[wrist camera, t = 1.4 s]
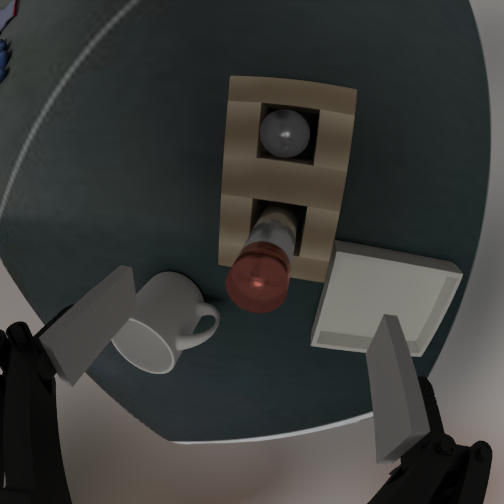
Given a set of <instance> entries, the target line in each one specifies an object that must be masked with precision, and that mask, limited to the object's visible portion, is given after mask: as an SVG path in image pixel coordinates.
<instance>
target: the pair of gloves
mask: <svg viewBox="0 0 504 504" xmlns="http://www.w3.org/2000/svg"><path fill="white" fill-rule="evenodd" d="M19 1H20V0H13V1H12V2H11V3H10V4H9V5H8V6H7V7H6V9H5V10H3V9H2V10H0V32H1V30H2V29H3V28H4V27H5V26H6V24H7V21H8V20H10V19H11V18H12V17H13V16H15V15H16V14H17V12H18V7H19ZM6 50H7V43H6V42H4V40H3V39H0V83H1V82H2V80H3V79H4V77H5V75H6V70H5V69H4V68H5V67H6V64H7V61H8V52H7V51H6Z"/></svg>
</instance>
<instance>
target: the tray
mask: <svg viewBox="0 0 504 504" xmlns="http://www.w3.org/2000/svg"><path fill="white" fill-rule="evenodd" d="M462 276H463V273H462V272H461V271H460V270H459V268H458V267H457V266H456V265H455V264H454V263H453V262H449V261H444V260H440V259H435V258H430V257H425V256H420V255H415V254H410V253H405V252H399V251H394V250H389V249H384V248H378V247H373V246H367V245H362V244H356V243H351V242H345V241H339V240H334V245H333V249H332V254H331V258H330V262H329V266H328V270H327V275H326V279H325V283H324V287H323V290H322V294H321V298H320V302H319V305H318V309H317V313H316V316H315V320H314V323H313V327H312V330H311V346H316V347H323V348H330V349H338V350H346V351H355V352H365V353H366V352H367V350H368V348H369V346H370V344H371V342H372V340H373V337H374V335H375V333H376V331H377V329H378V326H379V324H380V322H381V319H382V317H383V314H388V315H396V316H397V317H398V319H399V322H400V325H401V328H402V331H403V333H404V336H405V339H406V342H407V345H408V348H409V352H410V355H411V356H419V357H421V356H422V354H423V353H424V351H425V349H426V348H427V346H428V344H429V343H430V341H431V339H432V338H433V336H434V334H435V332H436V330H437V329H438V327H439V325H440V323H441V321H442V319H443V317H444V315H445V313H446V311H447V309H448V307H449V305H450V303H451V301H452V299H453V297H454V295H455V292H456V290H457V288H458V286H459V283H460V281H461V279H462Z"/></svg>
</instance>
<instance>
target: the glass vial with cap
mask: <svg viewBox="0 0 504 504" xmlns="http://www.w3.org/2000/svg"><path fill="white" fill-rule="evenodd" d="M298 217H299V205H296V204H289V203H283V202H276V201H269V202H268V204H267V205H266V207H265V209H264V211H263V212H262V214H261V216H260V218H259V219H258V221H257V223H256V225H255V226H254V228H253V230H252V232H251V234H250V235H249V237H248V239H247V241H246V242H245V244H244V246H243V248H242V250H241V251H240V253H239V255H238V257H237V258H236V260H235V262H234V264H233V266H232V267H231V269H230V271H229V273H228V275H227V278H226V289H227V292H228V295H229V296H230V298H231V299H232V301H233V302H234V303H235V304H236V305H238V306H239V307H241V308H242V309H244V310H247V311H249V312H254V313H266V312H270V311H273V310H275V309H277V308H278V307H279V306H280V305H281V304H282V303H283V302H284V300H285V298H286V295H287V290H288V284H289V278H290V272H291V265H292V259H293V252H294V245H295V238H296V231H297V224H298Z"/></svg>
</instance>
